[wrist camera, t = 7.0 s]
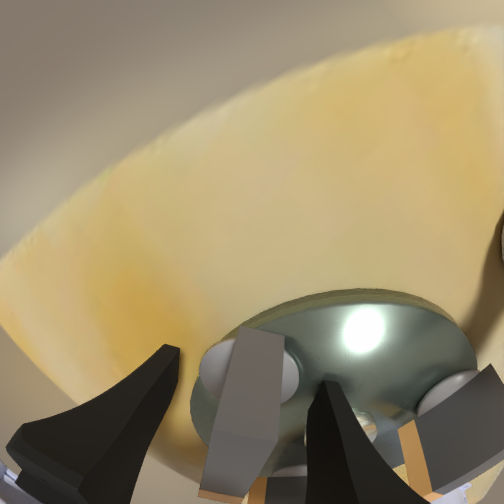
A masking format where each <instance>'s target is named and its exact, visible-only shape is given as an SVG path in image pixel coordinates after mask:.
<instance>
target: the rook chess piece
mask: <svg viewBox="0 0 504 504" xmlns="http://www.w3.org/2000/svg"><path fill="white" fill-rule="evenodd" d="M501 241H502V258H503V261H504V224H503V229H502V233H501Z"/></svg>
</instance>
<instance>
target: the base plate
mask: <svg viewBox="0 0 504 504" xmlns="http://www.w3.org/2000/svg"><path fill="white" fill-rule="evenodd" d="M240 326H243V327H247V328H252V329H256V330H260V331H265V332H270V333H274V334H279V335H284V336H285V341H284V350H286V351H287V352H288V353H289V354H290V355H291V356H292V357H293V359H294V360H295V362H296V364H297V366H298V370H299V383H298V387H297V390H296V391H295V393H294V394H293V395H292V397H290V398H289V399H288V400H287V401H285V402H284V403H282V404H281V406H280V419H279V432H278V442H277V444H276V445H275V447H274V449H273V451H272V452H271V454H270V456H269V458H268V459H267V461H266V463H265V464H264V466H263V468H262V469H261V471H260V473H259V474H258V476H259V477H271V474H272V473H273V472H274V471H275V470H277V469H279V468H282V467H286V466H290V465H298V464H307V452H306V425H307V414H308V409H309V407H310V405H311V404H312V402H313V400H314V398H315V396H316V394H317V393H318V391H319V389H320V387H321V385H322V383H323V381H324V380H328V381H335V382H339V384H340V386H341V388H342V390H343V392H344V394H345V396H346V398H347V400H348V402H349V404H350V406H351V408H352V410H353V412H354V414H355V416H356V417H357V419H358V421H359V423H360V425H361V426H362V428H363V430H364V431H365V433H366V435H367V436H368V438H369V440H370V441H371V443H372V444H373V446H374V447H375V449H376V450H377V451H378V453H379V454H380V455H381V457H382V458H383V459H384V460H385V462H386V463H387V464H388V465H389V466H390V468H391V469H393V468H395V467H397V466H400V465H402V464H404V463H405V460H404V456H403V451H402V447H401V442H400V438H399V434H398V429H399V428H401V427H402V426H404V425H406V424H407V423H409V422H411V421H412V420H415V419H416V418H418V415H417V408H418V405H419V403H420V401H421V400H422V398H423V397H424V396H425V395H426V393H427V392H428V391H429V390H430V389H432V388H433V387H434V386H435V385H436V384H438V383H439V382H440V381H442V380H443V379H445V378H447V377H449V376H450V375H452V374H455V373H457V372H460V371H463V370H468V369H476V370H478V369H477V360H476V355H475V351H474V349H473V347H472V345H471V344H470V342H469V340H468V338H467V337H466V335H465V334H464V332H463V331H462V329H461V328H460V326H459V325H458V324H457V323H456V322H455V320H454V319H453V318H452V317H451V316H450V315H449V314H448V313H447V312H445V311H444V310H443V309H441V308H440V307H439V306H437V305H435V304H433V303H431V302H429V301H427V300H425V299H423V298H420V297H417V296H414V295H411V294H407V293H404V292H398V291H391V290H385V289H360V288H358V289H346V290H335V291H329V292H324V293H318V294H313V295H308V296H305V297H301V298H298V299H295V300H291V301H288V302H285V303H282V304H280V305H277V306H275V307H273V308H270V309H268V310H266V311H263V312H261V313H259V314H257V315H256V316H254V317H252V318H250V319H249V320H247V321H245V322H243V323H242V324H240V325H239V326H238V327H236V328H235V329H234V330H232V331H231V332H230V333H228V334H227V335H226V336H225V337H224V338H223V339H222V340H225V339H229V338H234V337H237V335H238V331H239V327H240ZM222 340H221V341H222ZM219 403H220V400H219V399H217V398H216V397H214V396H213V395H212V394H211V393H210V392H209V391H208V390H207V389H206V388H205V386H204V385H203V383H202V381H201V378H200V373H199V374H198V377H197V380H196V382H195V385H194V388H193V391H192V396H191V400H190V413H191V417H192V421H193V424H194V427H195V429H196V431H197V433H198V435H199V436H200V437H201V439H202V440H203V442H204V443H205V444H206V445H207V446H208V447H209V443H210V439H211V434H212V429H213V425H214V422H215V418H216V414H217V410H218V407H219Z"/></svg>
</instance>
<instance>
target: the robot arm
mask: <svg viewBox="0 0 504 504" xmlns="http://www.w3.org/2000/svg"><path fill="white" fill-rule="evenodd" d="M179 355H180V348H177V347H174V346H171V345H167V344H164V345H162V346H161V347H160V348H159V349H158V350H157V351H156V352H155V353H154V354H153V355H152V356H151V357H150V358H149V359H148V360H147V361H145V362H144V363H143V364H142V365H141V366H140V367H138V368H137V369H136V370H135V371H133V372H132V373H131V374H130V375H128V376H127V377H126V378H124V379H123V380H122V381H120V382H119V383H117V384H116V385H115V386H113V387H112V388H110V389H109V390H107V391H105V392H104V393H102V394H100V395H99V396H97V397H95V398H93V399H92V400H90V401H88V402H86V403H84V404H82V405H80V406H78V407H75V408H73V409H71V410H68V411H65V412H63V413H60V414H57V415H54V416H52V417H49V418H45V419H41V420H38V421H33V422H29V423H24V424H22V426H21V427H20V428H19V429H18V430H17V431H16V433H15V434H14V436H13V437H12V438H11V440H10V441H9V443H8V444H7V446H6V450H7V452H8V454H9V455H10V456H11V457H12V458H13V460H14V461H15V462H16V463H17V464H18V465H19V466H20V468H21V469H22V471H21V472H20V474H19V476H18V475H16V474H15V473H14V472H12V471H11V470H9V469H8V468H7V466H6V465H5V464H4V463H3V462H2V461H1V460H0V504H130V501H131V498H132V494H133V491H134V487H135V484H136V481H137V478H138V475H139V472H140V469H141V466H142V463H143V460H144V457H145V455H146V452H147V450H148V447H149V445H150V443H151V441H152V439H153V437H154V435H155V433H156V431H157V429H158V427H159V425H160V423H161V421H162V419H163V417H164V415H165V413H166V411H167V409H168V407H169V405H170V402H171V400H172V397H173V394H174V391H175V388H176V385H177V383H178V370H179ZM306 452H307V489H306V497H305V504H468V502H467V498H466V494H465V490H466V489H468V488H470V487H471V486H472V484H471V483H469V482H467V483H466V484H464V485H462V486H460V487H458V488H457V489H455V490H453V491H451V492H449V493H447V494H445V495H444V496H442V497H440V498H438V499H436V500H434V501H432V502H429V501H427V500H426V499H424V498H423V497H422V496H420V495H419V494H418V493H416V492H415V491H414V490H413V489H412V488H411V487H409V486H408V485H407V484H406V483H405V482H404V481H403V480H402V479H401V478H400V477H399V476H398V475H397V474H396V473H395V472H394V471H393V470H392V469H391V468H390V466H389V465H388V464H387V463H386V462H385V460H384V459H383V458H382V457H381V455H380V454H379V453H378V451H377V450H376V449H375V447H374V446H373V444H372V443H371V441H370V440H369V438H368V436H367V435H366V433H365V431H364V430H363V428H362V426H361V425H360V423H359V421H358V419H357V417H356V416H355V414H354V412H353V410H352V408H351V406H350V404H349V402H348V400H347V398H346V396H345V394H344V392H343V390H342V388H341V386H340V384H339V382H335V381H328V380H324V381H323V383H322V385H321V387H320V389H319V391H318V393H317V394H316V396H315V398H314V400H313V402H312V404H311V405H310V407H309V409H308V414H307V425H306Z"/></svg>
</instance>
